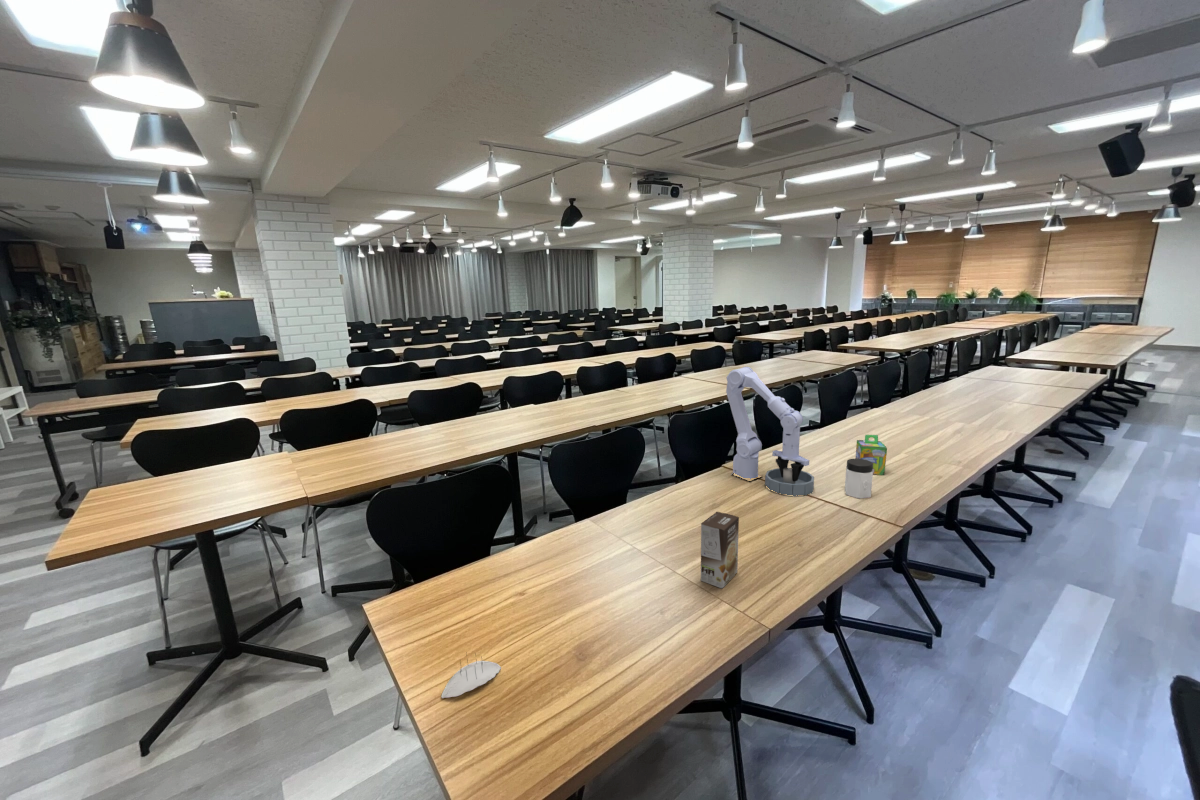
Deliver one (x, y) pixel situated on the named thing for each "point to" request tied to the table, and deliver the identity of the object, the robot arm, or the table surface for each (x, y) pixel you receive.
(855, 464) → the jar
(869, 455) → the chalk box
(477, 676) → the pincushion
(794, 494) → the bowl
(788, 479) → the pebble
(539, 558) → the table surface
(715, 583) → the coffee box
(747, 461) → the robot arm
